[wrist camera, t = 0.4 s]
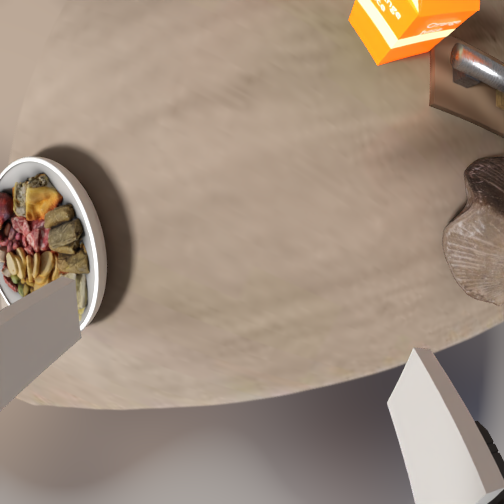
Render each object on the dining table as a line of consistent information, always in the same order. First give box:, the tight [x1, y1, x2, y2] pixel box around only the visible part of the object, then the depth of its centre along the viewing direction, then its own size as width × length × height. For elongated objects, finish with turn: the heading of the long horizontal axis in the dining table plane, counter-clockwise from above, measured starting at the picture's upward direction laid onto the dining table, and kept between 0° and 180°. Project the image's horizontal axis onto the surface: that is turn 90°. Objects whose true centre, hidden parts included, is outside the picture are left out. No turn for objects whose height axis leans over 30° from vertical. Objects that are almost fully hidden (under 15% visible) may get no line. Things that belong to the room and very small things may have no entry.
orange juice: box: [349, 0, 480, 66], centre depth 19 cm, size 8×9×20 cm
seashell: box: [443, 157, 504, 306], centre depth 28 cm, size 16×17×15 cm
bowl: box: [0, 157, 107, 331], centre depth 39 cm, size 30×30×8 cm
